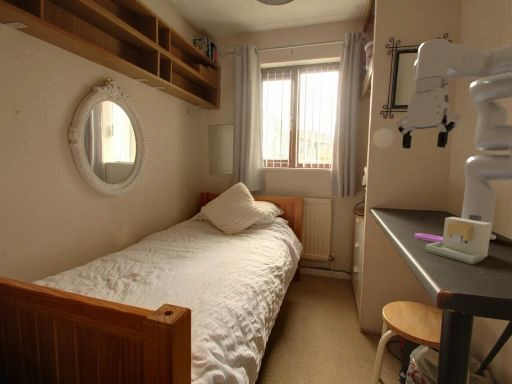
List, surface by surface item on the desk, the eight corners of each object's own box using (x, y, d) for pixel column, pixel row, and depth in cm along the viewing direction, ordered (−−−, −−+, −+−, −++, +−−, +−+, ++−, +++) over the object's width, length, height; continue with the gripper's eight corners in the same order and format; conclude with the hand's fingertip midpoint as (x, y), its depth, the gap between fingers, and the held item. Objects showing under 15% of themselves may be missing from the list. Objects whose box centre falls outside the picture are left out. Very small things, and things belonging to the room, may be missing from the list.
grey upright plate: (469, 237, 86) (472, 214, 86) (478, 239, 84) (481, 216, 84) (450, 241, 80) (453, 217, 79) (460, 243, 78) (463, 218, 77)
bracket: (459, 244, 93) (461, 224, 92) (456, 247, 89) (459, 226, 88) (416, 235, 102) (418, 217, 101) (412, 238, 98) (414, 219, 97)
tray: (437, 247, 86) (438, 241, 86) (484, 260, 76) (485, 253, 76) (424, 251, 82) (425, 244, 82) (471, 264, 72) (472, 257, 72)
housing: (449, 246, 88) (452, 216, 87) (487, 256, 80) (491, 223, 79) (441, 248, 85) (445, 217, 84) (480, 258, 77) (484, 224, 76)
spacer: (452, 235, 83) (453, 222, 82) (471, 239, 78) (473, 225, 78) (446, 236, 81) (448, 222, 80) (466, 240, 77) (468, 226, 76)
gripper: (471, 83, 71) (463, 147, 73) (406, 95, 86) (401, 149, 88) (458, 77, 68) (450, 145, 69) (392, 91, 82) (387, 147, 84)
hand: (422, 147), depth 79 cm, fingers open, 9 cm apart
